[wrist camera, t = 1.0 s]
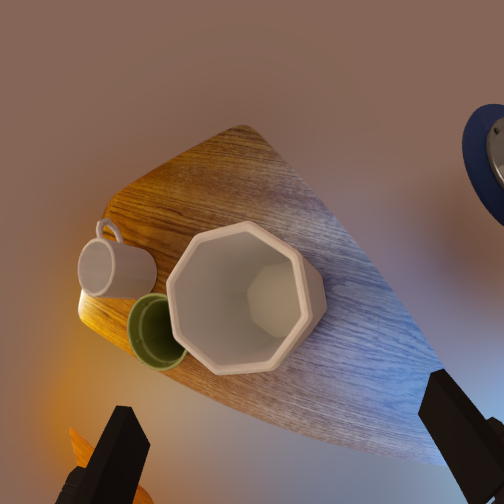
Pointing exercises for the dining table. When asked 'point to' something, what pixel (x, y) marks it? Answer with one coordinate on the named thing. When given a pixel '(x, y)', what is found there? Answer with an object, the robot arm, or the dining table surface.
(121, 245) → the mug
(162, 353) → the plant pot
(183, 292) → the cup
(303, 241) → the dining table surface
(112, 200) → the dining table surface
